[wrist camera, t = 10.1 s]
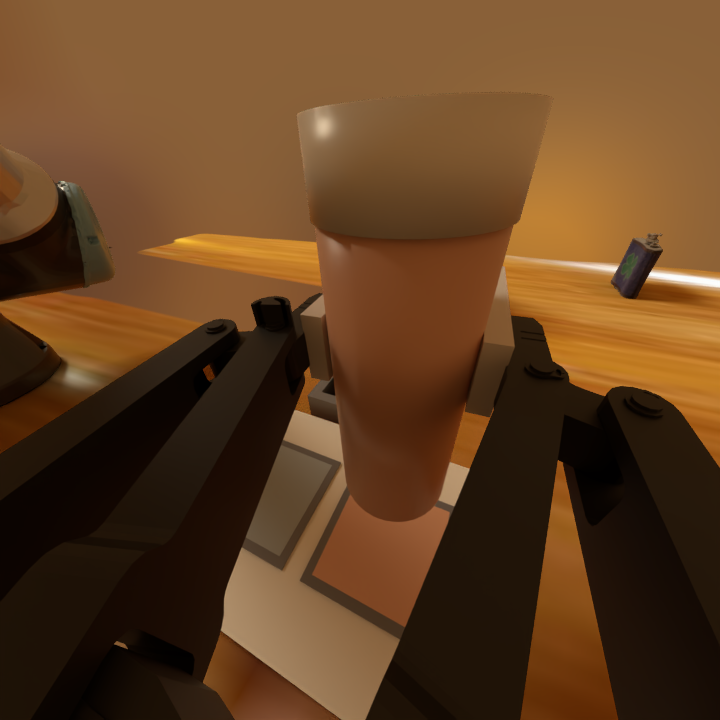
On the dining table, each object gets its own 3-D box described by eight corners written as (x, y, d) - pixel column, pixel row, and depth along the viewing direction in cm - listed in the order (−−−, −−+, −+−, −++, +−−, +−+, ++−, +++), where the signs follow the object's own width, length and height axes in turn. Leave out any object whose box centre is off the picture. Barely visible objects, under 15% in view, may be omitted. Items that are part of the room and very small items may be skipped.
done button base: (311, 414, 33) (307, 395, 31) (342, 373, 38) (341, 355, 37) (376, 436, 30) (376, 417, 28) (399, 388, 36) (400, 370, 34)
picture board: (89, 533, 23) (78, 525, 22) (238, 396, 35) (235, 388, 34) (433, 787, 13) (437, 790, 13) (474, 478, 26) (477, 470, 25)
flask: (608, 280, 61) (636, 226, 54) (625, 282, 60) (655, 227, 53) (621, 298, 54) (655, 239, 47) (640, 300, 53) (678, 240, 47)
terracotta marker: (345, 432, 17) (313, 124, 8) (433, 429, 17) (490, 116, 8) (341, 525, 13) (268, 101, 4) (458, 523, 12) (627, 85, 4)
